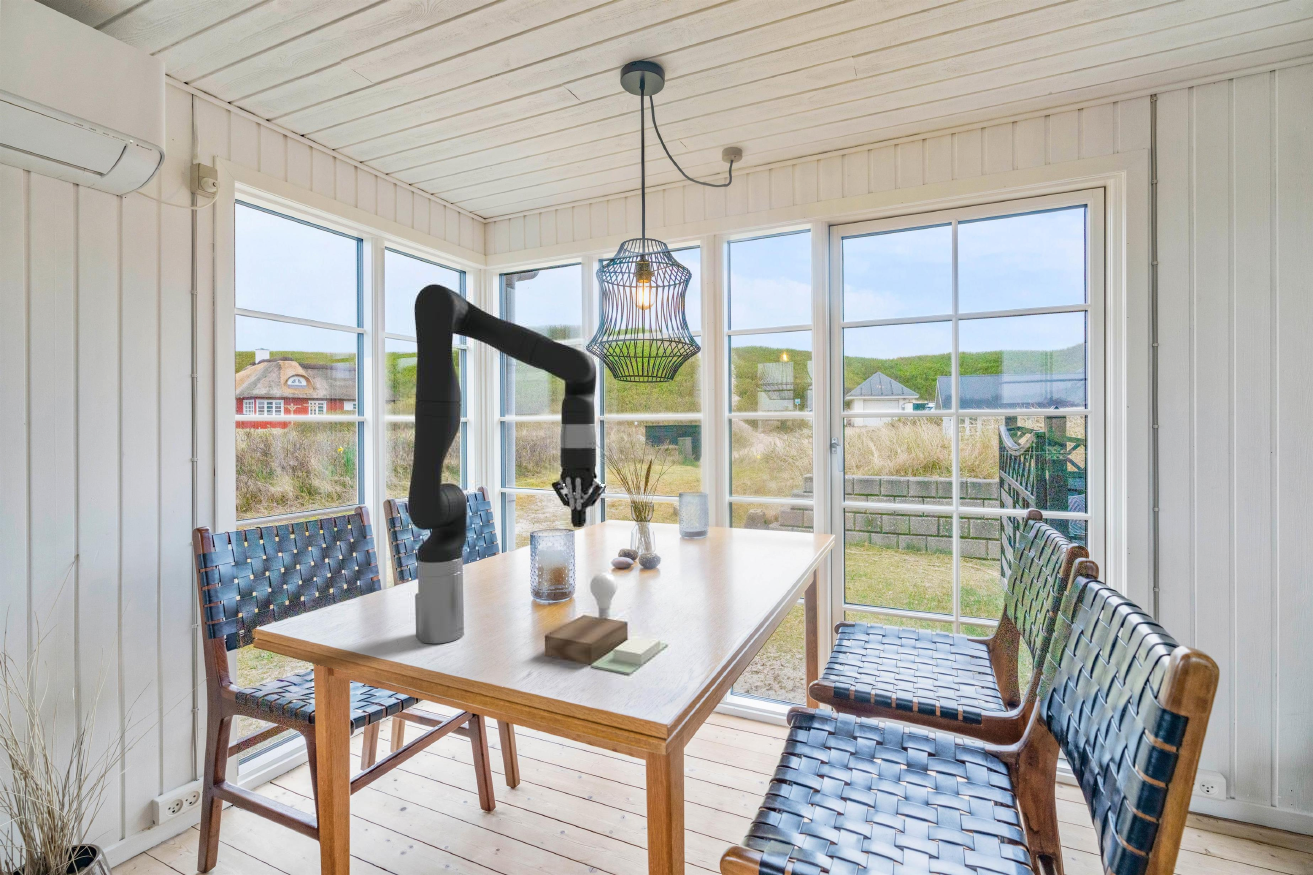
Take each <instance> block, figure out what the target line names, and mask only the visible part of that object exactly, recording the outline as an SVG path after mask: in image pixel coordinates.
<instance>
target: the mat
mask: <svg viewBox="0 0 1313 875" xmlns="http://www.w3.org/2000/svg"><path fill="white" fill-rule="evenodd" d="M668 646H669V644H668V643H666V642H661V641H660V650H659V651H658V652H657V653H656V654H654V655H653V656H652V657H650V658H649V659H648V660H646V661H645V662H644V663H643V664H636V663H631V662H625V661H620V660H615V659H614V650H613V651H611V652H610V653H608V654H607V655H605V656H604V657H602V658H601V659H599V660H598V661H596V662H595V663H593V664H592V665H591V664H590V667H591V668H595V669H600V670H603V671H609V672H614V673H620V674H624V675H628V676H629V675H630V676H631V675H632V674H633V673H634V672H636V671H637V670H639V669H640V668H641V667H642V666H644V665H645V664H646V663H648V662H649V661H650V660H652V659H653V658H654V657H655V656H657V655H658V654H660V653H661V651H664V649H666V648H667V647H668Z"/></svg>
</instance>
